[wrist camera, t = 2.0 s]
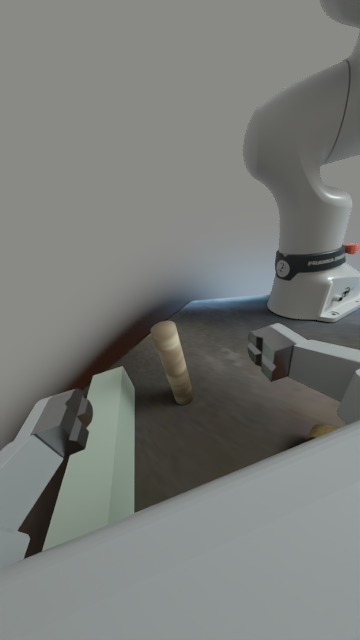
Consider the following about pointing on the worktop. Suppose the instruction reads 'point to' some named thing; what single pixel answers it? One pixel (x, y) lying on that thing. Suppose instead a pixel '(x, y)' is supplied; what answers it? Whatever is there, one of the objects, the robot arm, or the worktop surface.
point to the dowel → (173, 360)
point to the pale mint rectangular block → (99, 464)
